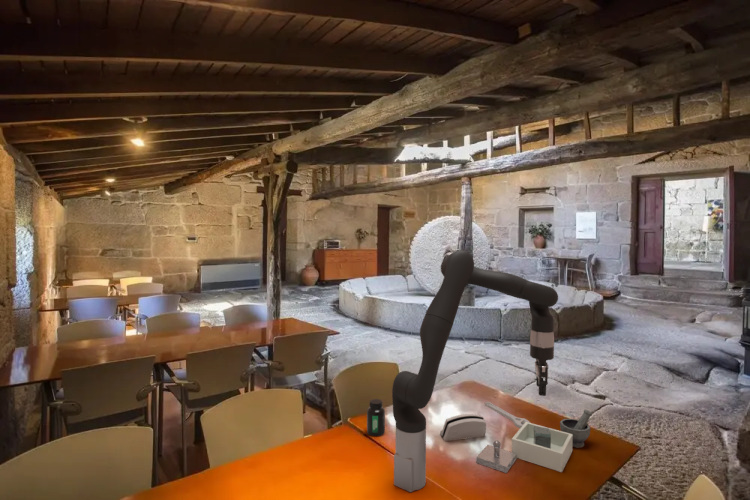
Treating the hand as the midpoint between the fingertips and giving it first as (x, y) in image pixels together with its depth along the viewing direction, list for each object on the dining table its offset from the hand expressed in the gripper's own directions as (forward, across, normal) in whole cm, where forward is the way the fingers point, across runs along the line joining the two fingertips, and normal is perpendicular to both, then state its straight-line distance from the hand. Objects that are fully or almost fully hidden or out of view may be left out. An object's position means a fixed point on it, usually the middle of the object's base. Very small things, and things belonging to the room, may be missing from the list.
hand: (540, 390), depth 140 cm
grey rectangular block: (+21, -1, +1) cm, 21 cm away
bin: (+22, -1, +1) cm, 22 cm away
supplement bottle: (+22, +2, -58) cm, 63 cm away
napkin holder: (+22, -5, -26) cm, 35 cm away
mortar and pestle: (+22, -12, +14) cm, 29 cm away
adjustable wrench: (+22, -29, -10) cm, 38 cm away
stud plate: (+22, +9, -14) cm, 28 cm away
